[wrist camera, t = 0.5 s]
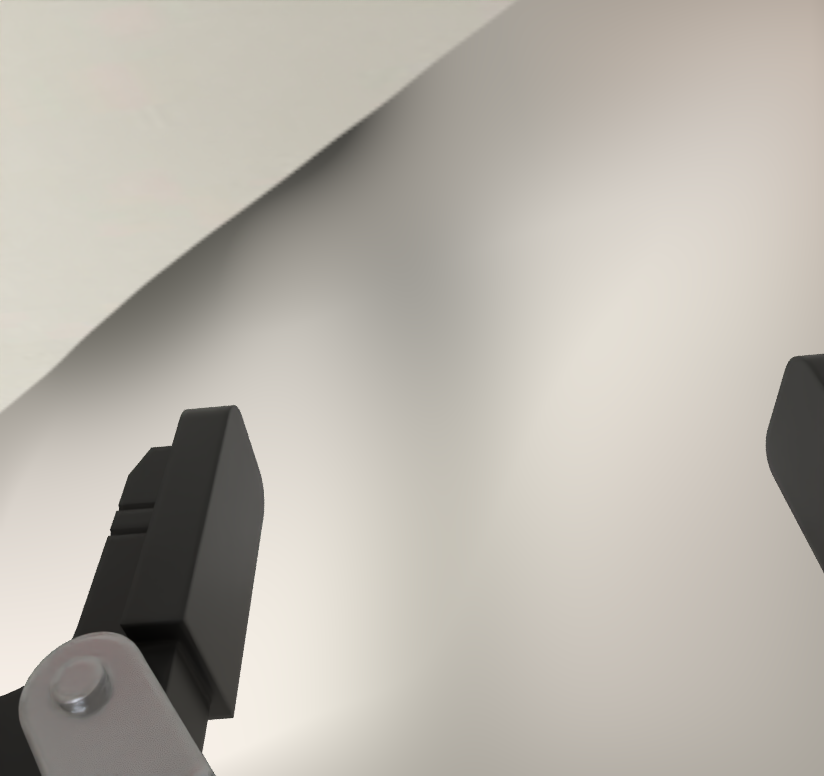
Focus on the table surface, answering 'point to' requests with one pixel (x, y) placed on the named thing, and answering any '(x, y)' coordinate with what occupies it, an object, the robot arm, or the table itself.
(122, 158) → the table surface
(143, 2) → the table surface
